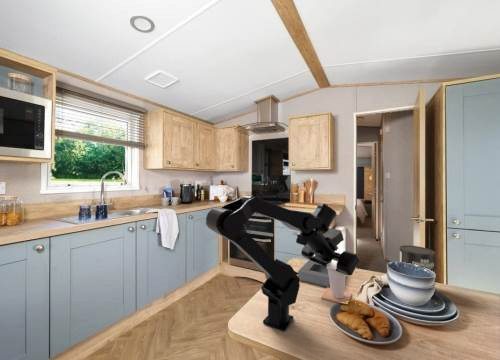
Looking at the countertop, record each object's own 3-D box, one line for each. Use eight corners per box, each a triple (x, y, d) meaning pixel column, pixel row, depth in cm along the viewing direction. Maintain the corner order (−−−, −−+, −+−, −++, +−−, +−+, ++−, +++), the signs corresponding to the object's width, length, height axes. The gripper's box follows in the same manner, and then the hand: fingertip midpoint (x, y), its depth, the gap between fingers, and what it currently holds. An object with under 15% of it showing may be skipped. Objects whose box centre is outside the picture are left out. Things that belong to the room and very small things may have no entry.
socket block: (336, 289, 81) (336, 279, 80) (298, 280, 88) (298, 271, 88) (343, 275, 93) (343, 266, 92) (308, 268, 100) (309, 259, 100)
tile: (347, 305, 70) (347, 304, 70) (321, 298, 74) (321, 297, 74) (351, 294, 77) (351, 293, 77) (327, 288, 81) (327, 287, 81)
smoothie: (347, 301, 71) (346, 256, 71) (326, 298, 74) (325, 254, 74) (347, 292, 77) (346, 250, 77) (327, 289, 80) (326, 248, 80)
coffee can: (442, 298, 75) (443, 255, 75) (407, 295, 77) (408, 253, 77) (424, 284, 85) (425, 246, 85) (394, 281, 87) (394, 244, 87)
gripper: (356, 226, 66) (377, 258, 71) (307, 217, 81) (328, 244, 87) (337, 259, 61) (361, 290, 67) (290, 242, 77) (313, 268, 83)
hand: (339, 270), depth 76 cm, fingers open, 6 cm apart
